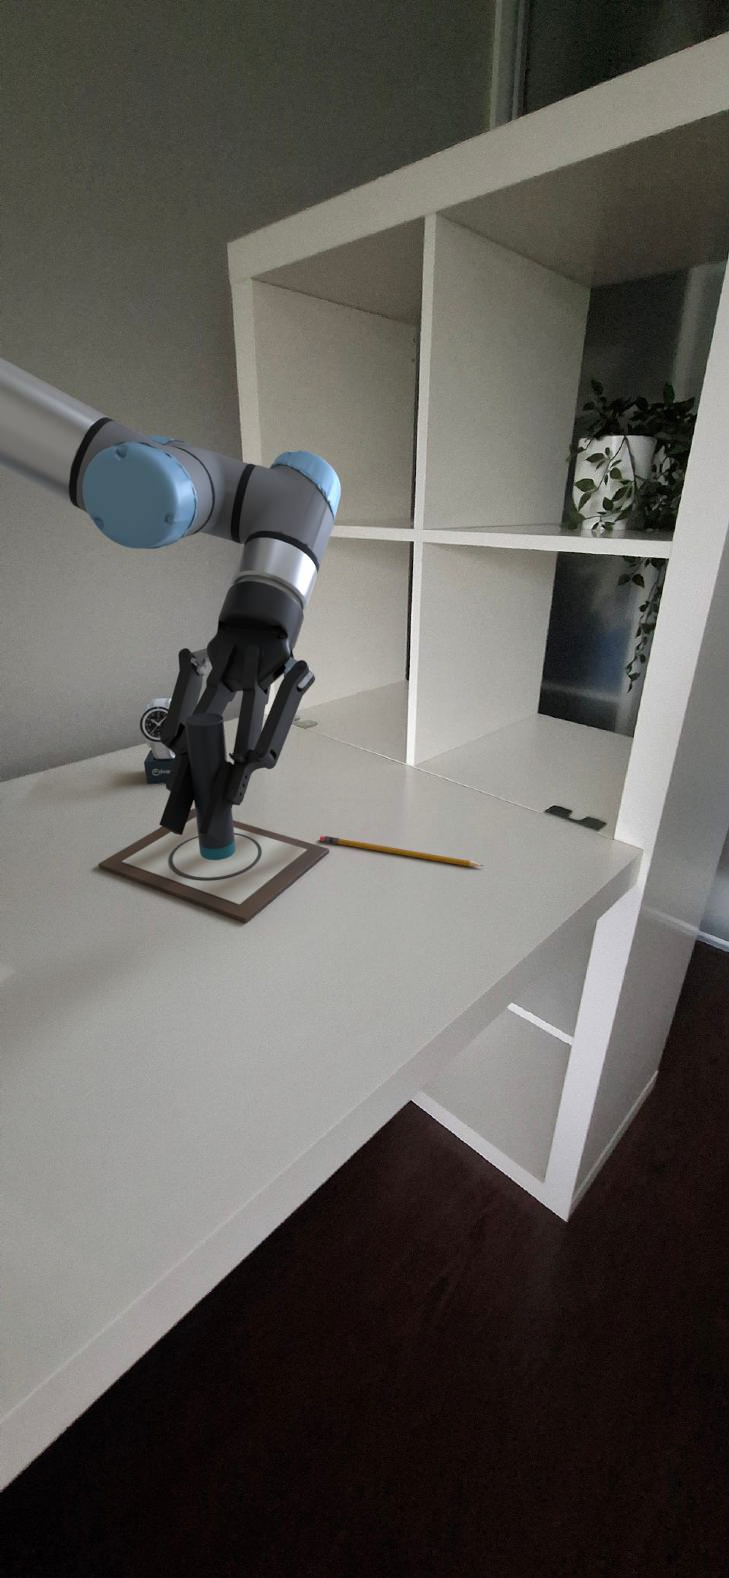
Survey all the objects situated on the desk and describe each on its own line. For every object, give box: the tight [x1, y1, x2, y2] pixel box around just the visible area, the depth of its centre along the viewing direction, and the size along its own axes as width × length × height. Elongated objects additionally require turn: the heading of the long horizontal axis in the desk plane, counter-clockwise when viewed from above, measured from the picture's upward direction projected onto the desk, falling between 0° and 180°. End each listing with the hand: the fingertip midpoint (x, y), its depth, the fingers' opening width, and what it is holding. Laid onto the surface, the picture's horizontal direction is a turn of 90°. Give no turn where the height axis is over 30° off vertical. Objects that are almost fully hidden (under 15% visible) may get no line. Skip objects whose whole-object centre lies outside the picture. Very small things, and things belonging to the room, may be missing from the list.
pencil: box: [319, 835, 484, 867], centre depth 77 cm, size 19×1×1 cm, turn 72°
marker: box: [185, 713, 236, 860], centre depth 61 cm, size 3×3×13 cm
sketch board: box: [97, 807, 330, 924], centre depth 76 cm, size 20×15×1 cm
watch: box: [139, 697, 175, 784], centre depth 93 cm, size 6×8×11 cm
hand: (190, 833), depth 59 cm, fingers closed on marker, 3 cm apart
